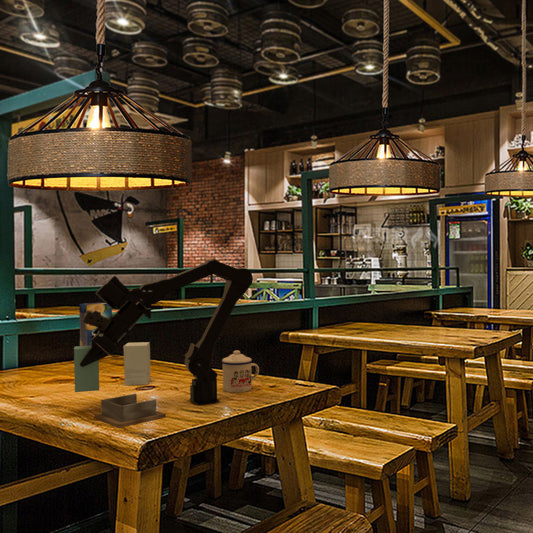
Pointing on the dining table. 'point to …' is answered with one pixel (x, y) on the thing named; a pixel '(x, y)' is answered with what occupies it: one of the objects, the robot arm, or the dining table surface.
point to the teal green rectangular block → (85, 371)
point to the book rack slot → (127, 411)
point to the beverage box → (88, 329)
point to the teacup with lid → (238, 373)
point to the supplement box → (137, 363)
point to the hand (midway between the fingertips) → (81, 364)
